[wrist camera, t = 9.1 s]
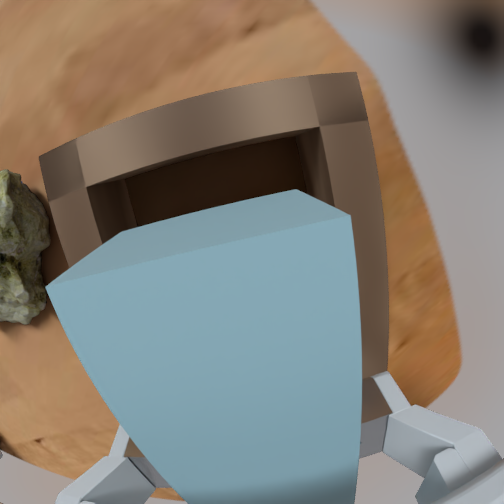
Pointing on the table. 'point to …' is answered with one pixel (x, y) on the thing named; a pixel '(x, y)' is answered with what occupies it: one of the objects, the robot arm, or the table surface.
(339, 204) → the frame
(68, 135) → the table surface
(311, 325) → the light blue rectangular block
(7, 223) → the rock
